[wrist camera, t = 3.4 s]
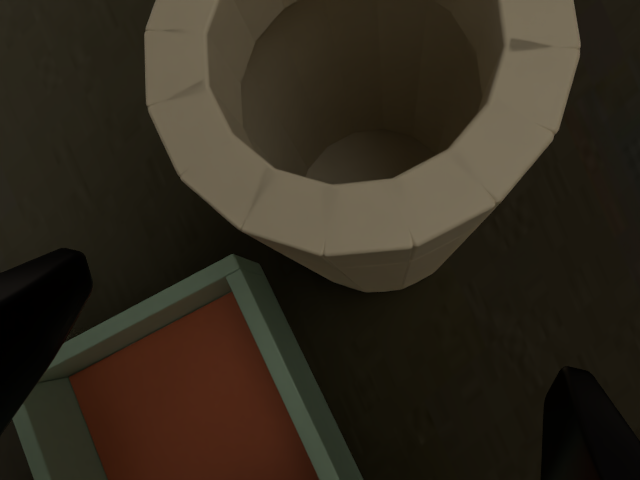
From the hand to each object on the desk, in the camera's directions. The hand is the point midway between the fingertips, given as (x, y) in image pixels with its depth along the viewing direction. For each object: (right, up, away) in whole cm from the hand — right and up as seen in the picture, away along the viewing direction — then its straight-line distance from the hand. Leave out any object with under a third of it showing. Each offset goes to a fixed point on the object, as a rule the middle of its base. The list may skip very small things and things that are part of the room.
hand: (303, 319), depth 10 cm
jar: (+3, +3, +11) cm, 12 cm away
